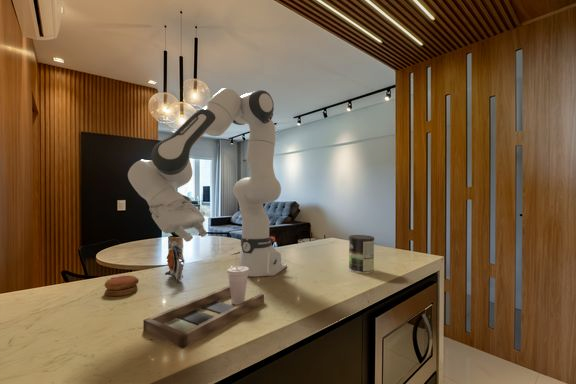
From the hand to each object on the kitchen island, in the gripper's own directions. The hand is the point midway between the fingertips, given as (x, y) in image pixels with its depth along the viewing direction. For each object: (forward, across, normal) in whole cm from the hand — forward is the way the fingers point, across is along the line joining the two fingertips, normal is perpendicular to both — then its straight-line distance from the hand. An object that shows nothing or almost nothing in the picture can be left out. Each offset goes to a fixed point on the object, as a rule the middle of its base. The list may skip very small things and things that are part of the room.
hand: (197, 237), depth 82 cm
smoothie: (+22, 0, +4) cm, 23 cm away
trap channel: (+19, -9, +7) cm, 22 cm away
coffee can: (+50, +41, -25) cm, 70 cm away
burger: (-6, +3, +33) cm, 33 cm away
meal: (0, +18, +26) cm, 32 cm away
